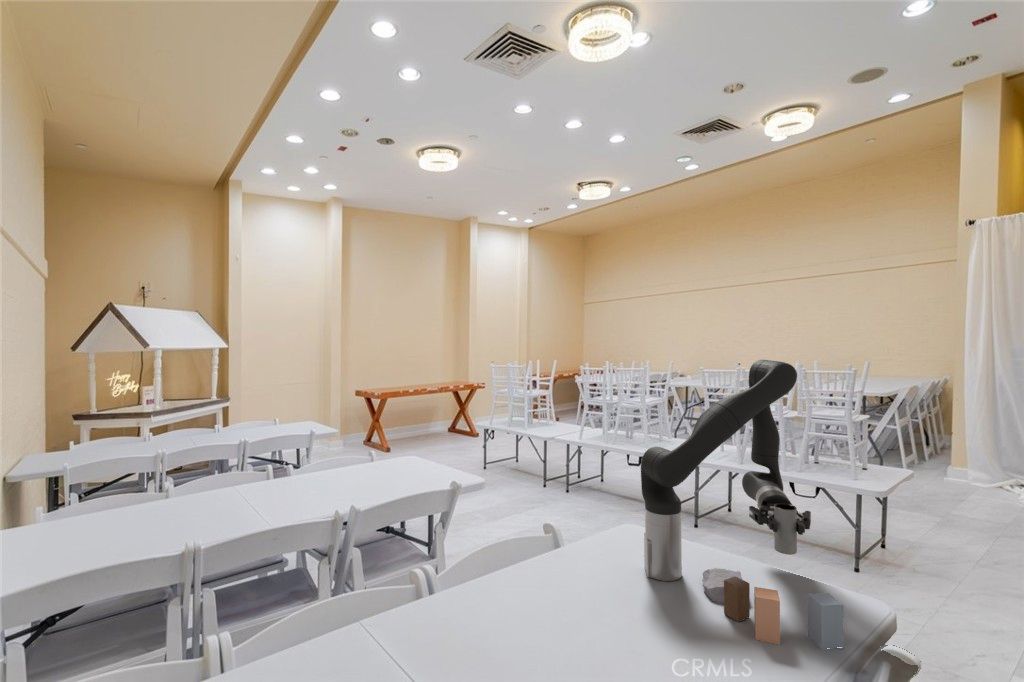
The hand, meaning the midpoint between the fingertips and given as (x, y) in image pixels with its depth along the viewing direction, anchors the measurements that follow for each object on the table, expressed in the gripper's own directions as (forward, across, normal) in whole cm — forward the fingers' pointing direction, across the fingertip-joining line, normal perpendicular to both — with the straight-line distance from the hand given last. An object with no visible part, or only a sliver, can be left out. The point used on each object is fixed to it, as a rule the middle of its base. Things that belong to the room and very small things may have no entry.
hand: (788, 529), depth 113 cm
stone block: (-8, -13, +20) cm, 25 cm away
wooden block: (+4, -11, +20) cm, 23 cm away
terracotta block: (+10, -6, +20) cm, 23 cm away
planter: (-3, 0, +6) cm, 7 cm away
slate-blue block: (+9, +5, +20) cm, 22 cm away
